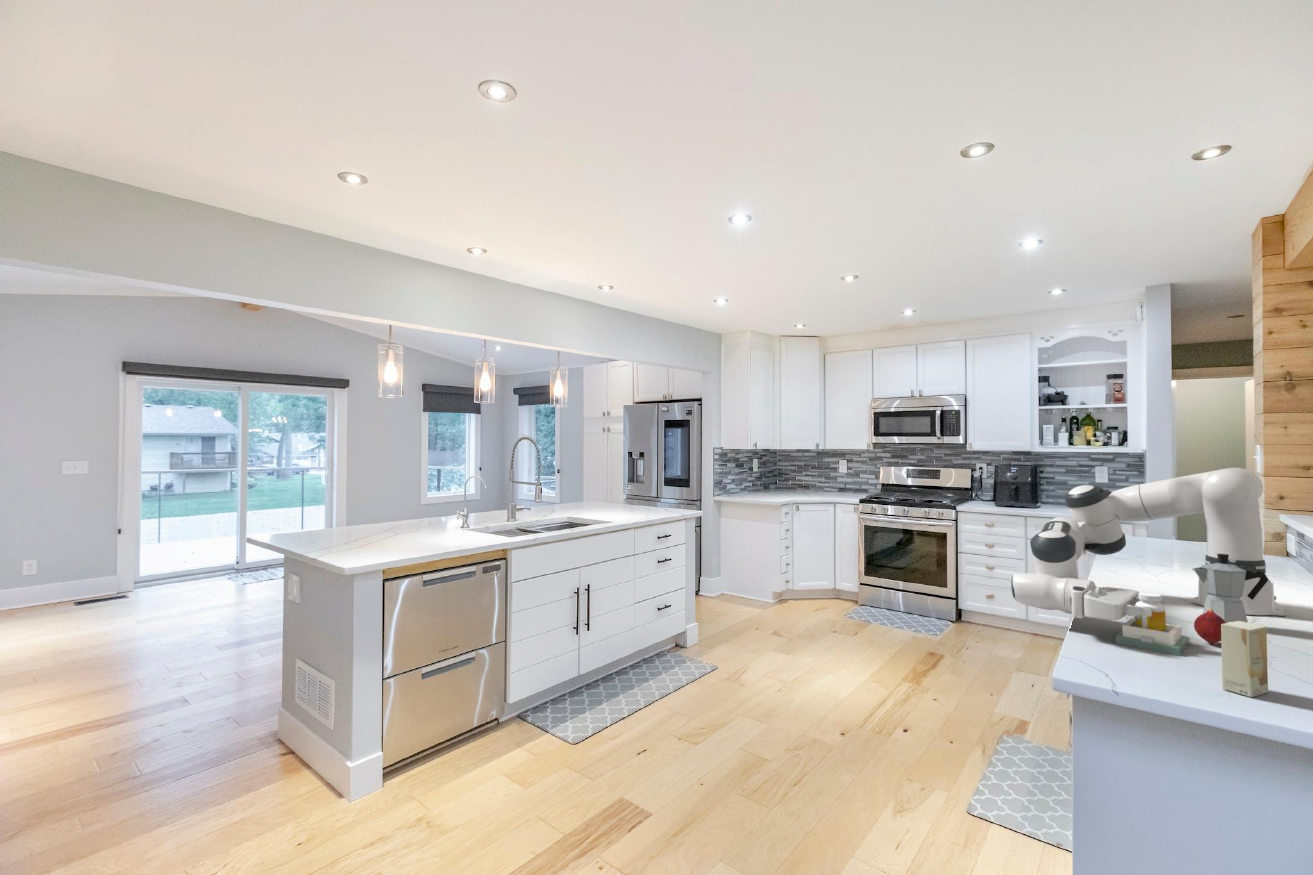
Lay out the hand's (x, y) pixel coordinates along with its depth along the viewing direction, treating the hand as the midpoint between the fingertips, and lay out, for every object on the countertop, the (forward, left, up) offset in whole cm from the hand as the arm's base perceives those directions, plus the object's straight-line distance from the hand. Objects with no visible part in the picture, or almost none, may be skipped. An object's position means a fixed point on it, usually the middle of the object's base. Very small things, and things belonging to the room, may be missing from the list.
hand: (1156, 609), depth 135 cm
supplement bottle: (0, -1, -7) cm, 7 cm away
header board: (0, -1, -8) cm, 8 cm away
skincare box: (+21, +16, -8) cm, 28 cm away
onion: (-9, +8, -8) cm, 15 cm away
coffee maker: (-31, +9, -8) cm, 33 cm away
